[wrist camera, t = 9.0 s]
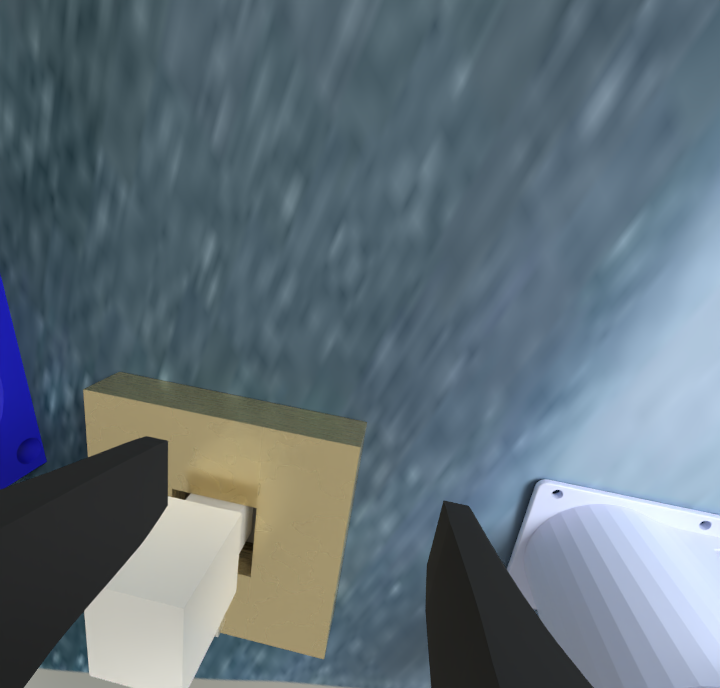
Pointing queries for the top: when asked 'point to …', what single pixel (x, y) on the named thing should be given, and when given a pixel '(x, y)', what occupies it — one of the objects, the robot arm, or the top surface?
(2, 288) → the cable clip
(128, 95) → the top surface
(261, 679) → the top surface
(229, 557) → the plug
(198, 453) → the socket plate
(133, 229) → the top surface
